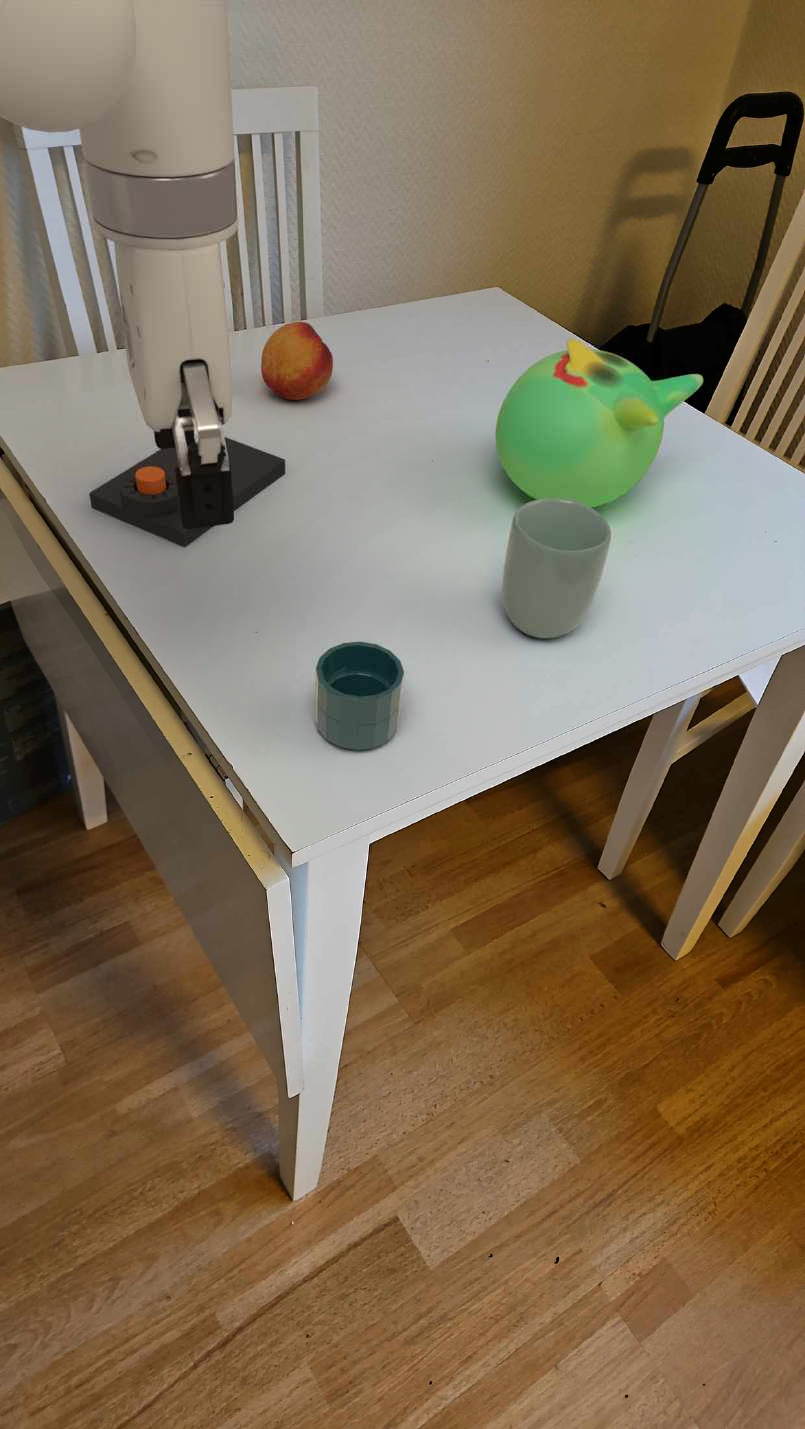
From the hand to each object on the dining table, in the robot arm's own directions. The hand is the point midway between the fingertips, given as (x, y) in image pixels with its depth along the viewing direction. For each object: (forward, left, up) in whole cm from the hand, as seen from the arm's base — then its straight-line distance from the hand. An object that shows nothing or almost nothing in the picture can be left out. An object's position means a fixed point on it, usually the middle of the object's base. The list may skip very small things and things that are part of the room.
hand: (193, 482), depth 62 cm
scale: (0, +28, -17) cm, 33 cm away
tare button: (-3, +24, -15) cm, 28 cm away
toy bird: (+38, +24, -18) cm, 48 cm away
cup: (+28, +4, -18) cm, 34 cm away
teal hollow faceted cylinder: (+10, -6, -17) cm, 21 cm away
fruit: (+13, +47, -18) cm, 52 cm away
